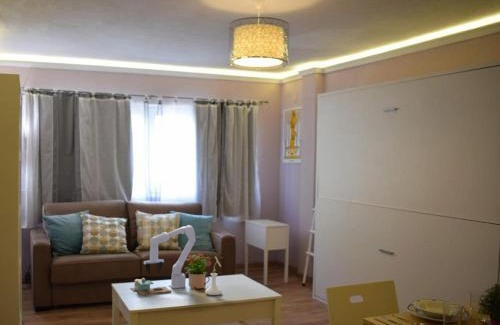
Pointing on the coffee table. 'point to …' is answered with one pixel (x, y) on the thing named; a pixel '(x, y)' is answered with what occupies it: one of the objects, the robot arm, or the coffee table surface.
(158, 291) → the board
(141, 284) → the cover
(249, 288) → the coffee table surface
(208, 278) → the coffee mug
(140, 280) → the block
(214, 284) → the flower in vase
